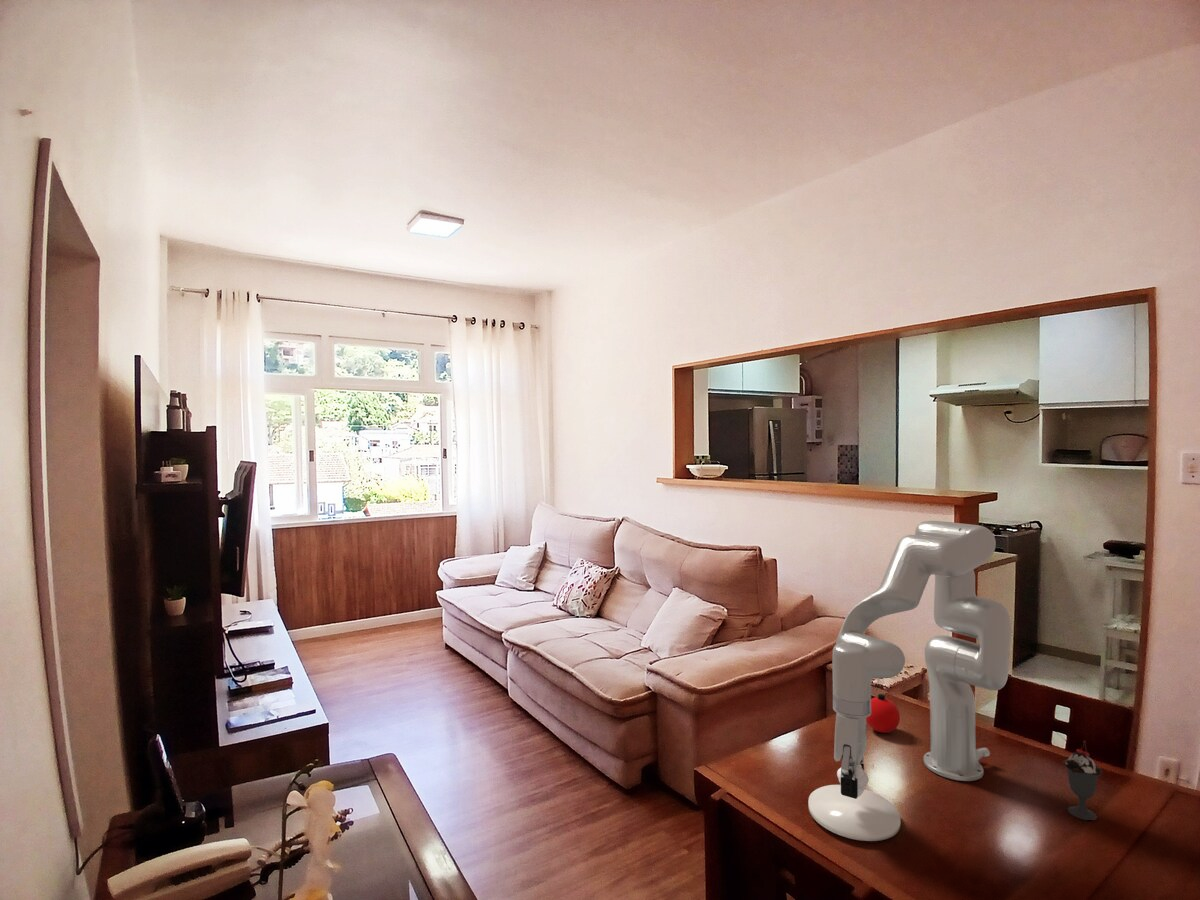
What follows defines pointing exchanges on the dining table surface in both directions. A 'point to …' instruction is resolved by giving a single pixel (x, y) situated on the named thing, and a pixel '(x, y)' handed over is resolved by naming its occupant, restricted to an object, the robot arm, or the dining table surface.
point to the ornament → (883, 715)
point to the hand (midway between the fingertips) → (852, 787)
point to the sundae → (1082, 781)
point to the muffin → (857, 777)
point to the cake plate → (854, 814)
